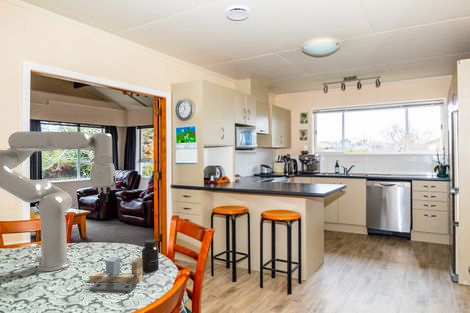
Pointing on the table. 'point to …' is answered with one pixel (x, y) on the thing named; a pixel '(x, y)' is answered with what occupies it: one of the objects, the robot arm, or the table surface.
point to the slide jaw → (112, 267)
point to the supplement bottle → (150, 256)
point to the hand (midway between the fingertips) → (104, 202)
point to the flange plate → (113, 287)
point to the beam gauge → (131, 278)
